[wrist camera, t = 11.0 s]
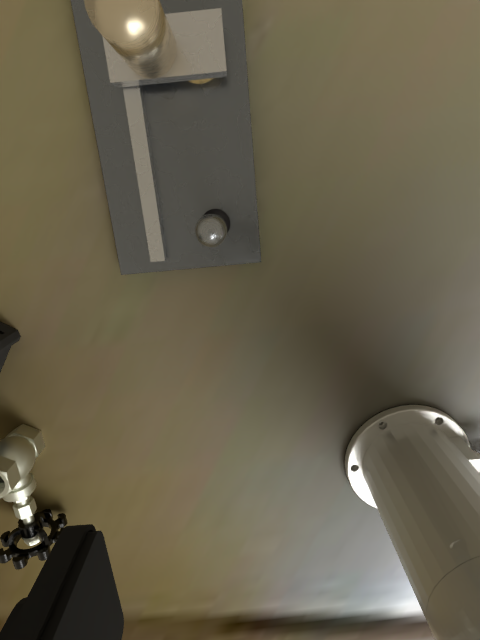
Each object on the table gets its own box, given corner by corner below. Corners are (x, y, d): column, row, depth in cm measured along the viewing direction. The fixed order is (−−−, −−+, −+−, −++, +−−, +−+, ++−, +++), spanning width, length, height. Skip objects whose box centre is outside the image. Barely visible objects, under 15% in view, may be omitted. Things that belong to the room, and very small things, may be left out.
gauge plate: (236, -65, 28) (235, -170, 20) (260, 259, 35) (266, 279, 27) (68, -47, 28) (0, -143, 20) (126, 271, 35) (92, 295, 27)
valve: (-10, 423, 40) (20, 517, 44) (-55, 466, 34) (-16, 572, 38) (55, 419, 40) (79, 513, 44) (21, 461, 34) (52, 567, 38)
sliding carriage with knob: (222, 21, 28) (215, -56, 19) (227, 79, 29) (222, 31, 20) (110, 33, 28) (52, -38, 19) (119, 90, 29) (68, 47, 20)
